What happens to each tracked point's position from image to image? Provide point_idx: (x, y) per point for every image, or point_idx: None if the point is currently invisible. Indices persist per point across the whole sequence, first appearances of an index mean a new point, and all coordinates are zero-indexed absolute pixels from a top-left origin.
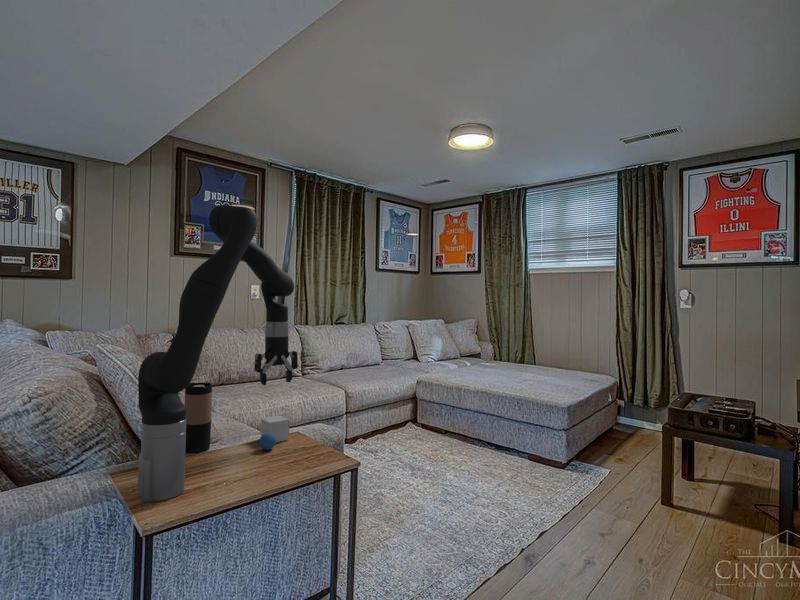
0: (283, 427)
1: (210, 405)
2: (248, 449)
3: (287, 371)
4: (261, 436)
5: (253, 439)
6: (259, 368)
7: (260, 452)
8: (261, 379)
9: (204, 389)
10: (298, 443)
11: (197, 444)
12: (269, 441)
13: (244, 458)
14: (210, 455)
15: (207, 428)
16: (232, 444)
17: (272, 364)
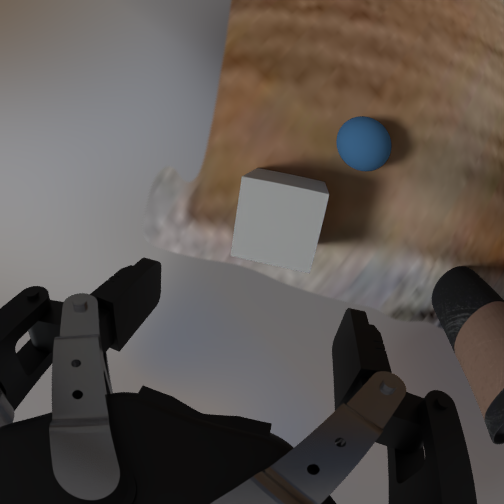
0: (271, 177)
1: (499, 342)
2: (393, 190)
3: (117, 327)
4: (384, 158)
5: (327, 256)
6: (442, 421)
7: None
8: (382, 352)
9: None
10: (256, 117)
11: (481, 278)
12: (375, 120)
13: (439, 138)
14: (468, 230)
15: (480, 294)
16: (391, 263)
17: (284, 444)
